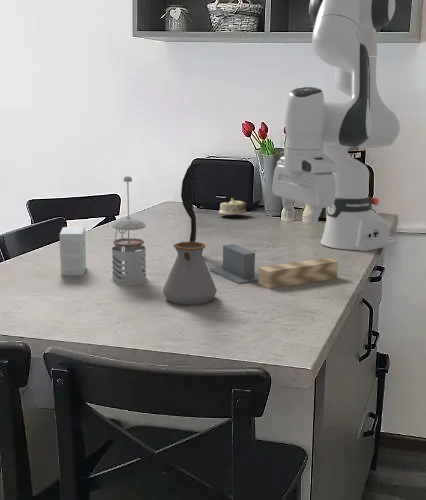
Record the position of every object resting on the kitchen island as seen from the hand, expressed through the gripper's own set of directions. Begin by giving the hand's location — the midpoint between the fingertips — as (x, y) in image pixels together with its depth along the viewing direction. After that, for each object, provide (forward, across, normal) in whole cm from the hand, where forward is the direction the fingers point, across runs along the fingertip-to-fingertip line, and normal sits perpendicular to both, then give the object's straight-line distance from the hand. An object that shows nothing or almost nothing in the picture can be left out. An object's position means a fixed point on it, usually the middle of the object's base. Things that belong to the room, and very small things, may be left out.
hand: (300, 220), depth 173 cm
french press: (+15, -20, -35) cm, 43 cm away
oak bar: (+15, 0, 0) cm, 16 cm away
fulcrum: (+15, -11, -10) cm, 21 cm away
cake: (+15, -84, +30) cm, 90 cm away
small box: (+15, -33, -44) cm, 57 cm away
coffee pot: (+15, +6, -32) cm, 36 cm away
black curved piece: (+15, -36, -10) cm, 40 cm away
